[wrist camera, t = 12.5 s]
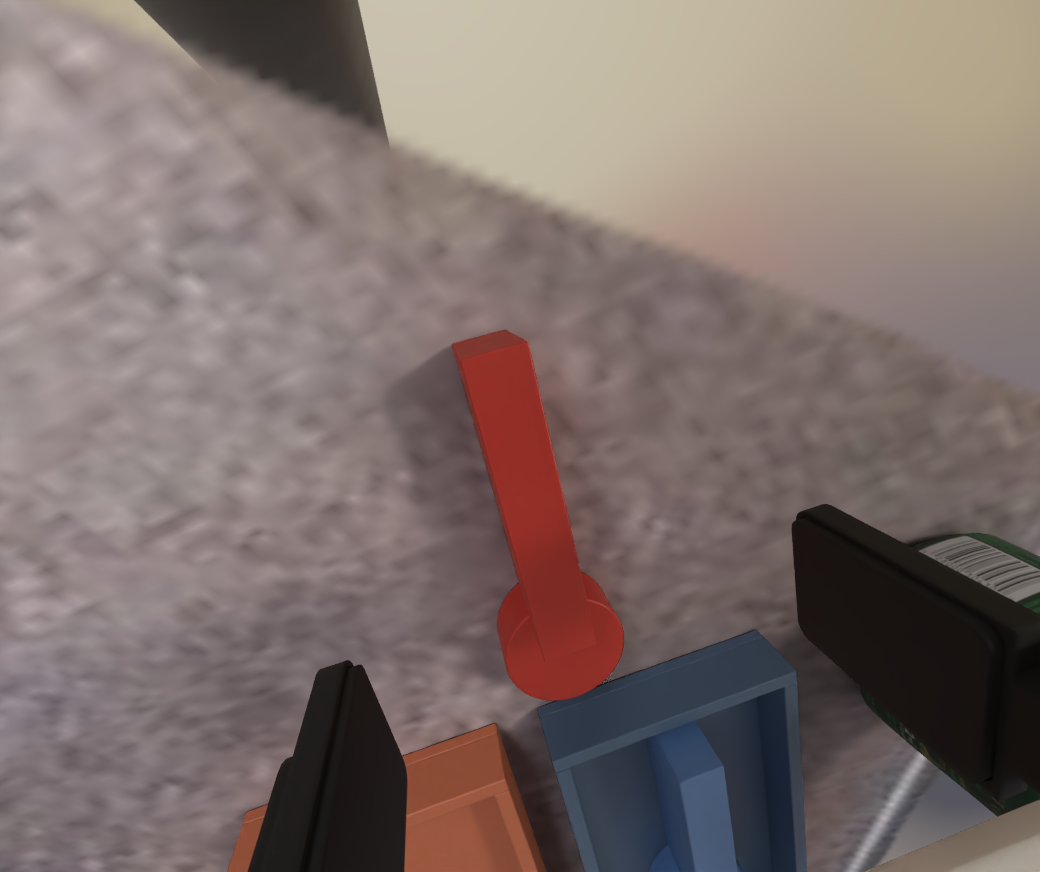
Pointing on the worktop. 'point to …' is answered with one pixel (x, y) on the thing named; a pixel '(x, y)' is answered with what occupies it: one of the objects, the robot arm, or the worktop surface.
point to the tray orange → (450, 811)
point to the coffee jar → (1005, 573)
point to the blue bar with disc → (692, 803)
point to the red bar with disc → (535, 531)
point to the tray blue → (729, 730)
